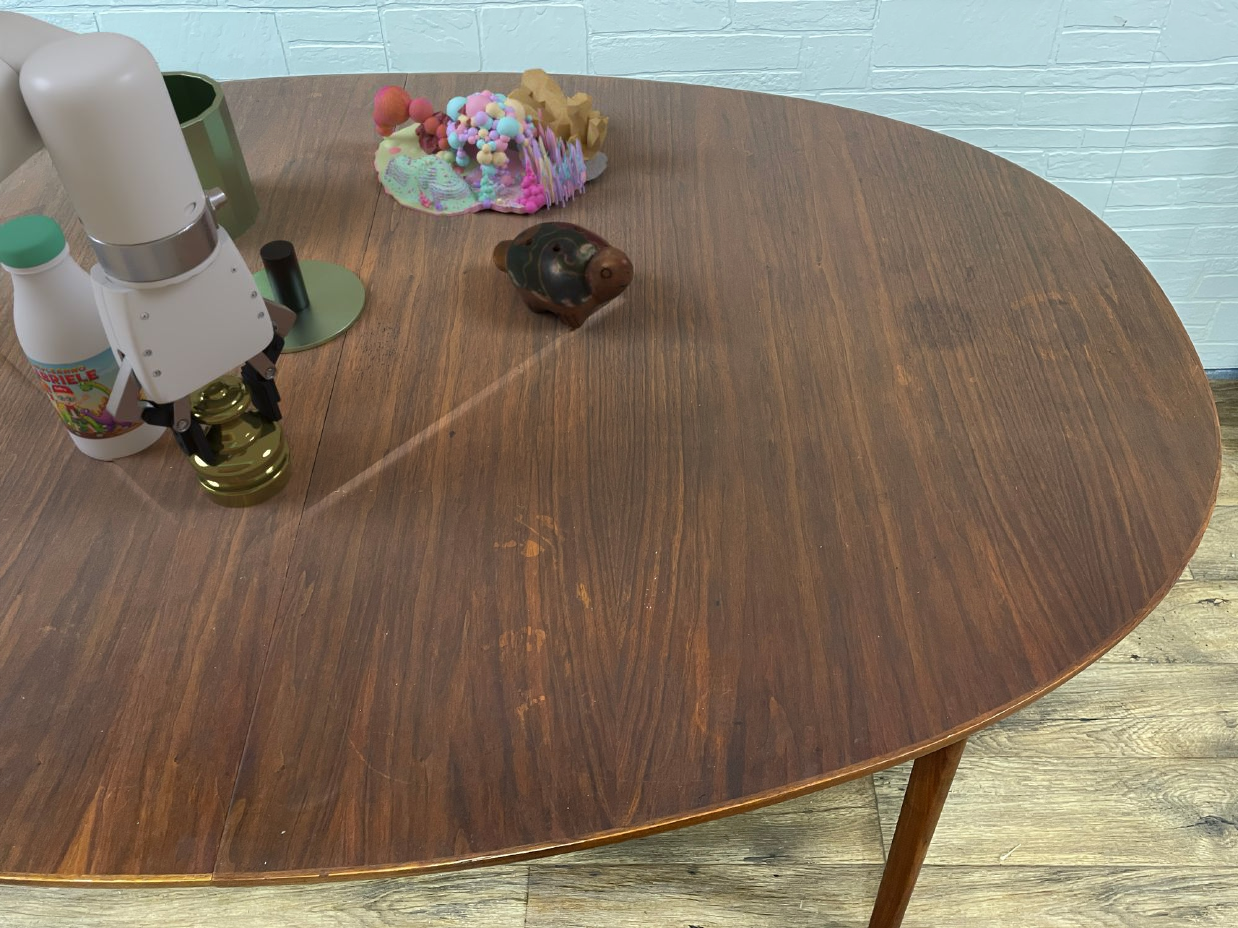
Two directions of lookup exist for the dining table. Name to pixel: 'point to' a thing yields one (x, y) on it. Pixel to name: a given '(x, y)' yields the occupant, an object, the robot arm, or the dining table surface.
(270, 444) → the gold knobbed round piece
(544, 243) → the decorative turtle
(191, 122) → the tin
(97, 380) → the milk bottle
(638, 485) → the dining table surface
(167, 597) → the dining table surface
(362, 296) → the tin lid
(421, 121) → the candy landscape model
